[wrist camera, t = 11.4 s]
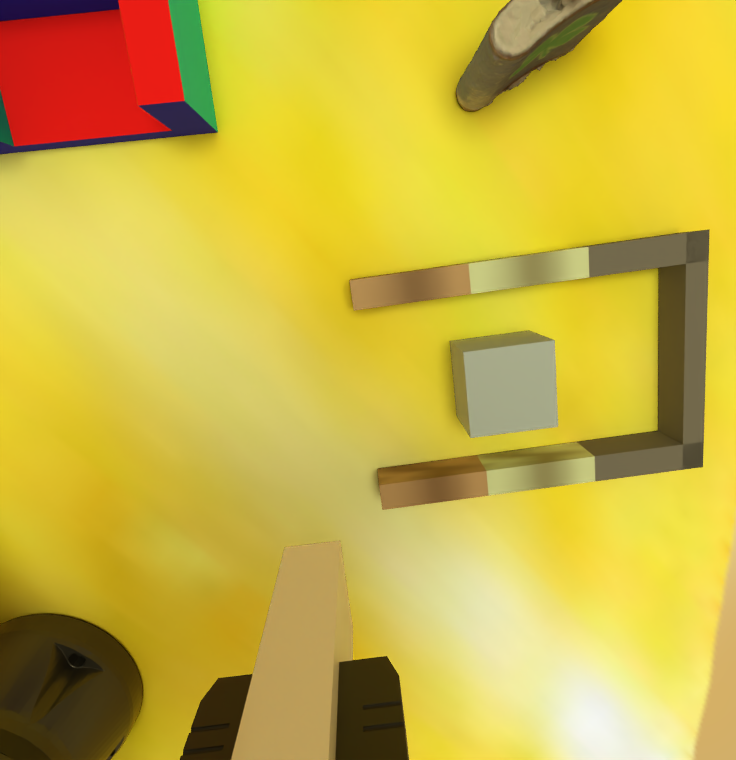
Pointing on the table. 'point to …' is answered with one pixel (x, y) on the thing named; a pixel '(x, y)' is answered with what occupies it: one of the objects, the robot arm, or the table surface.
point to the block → (505, 383)
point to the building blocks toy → (101, 73)
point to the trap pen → (664, 354)
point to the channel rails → (494, 468)
